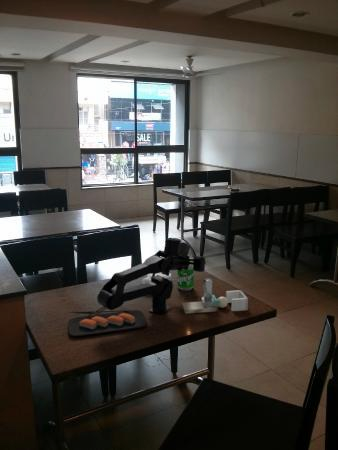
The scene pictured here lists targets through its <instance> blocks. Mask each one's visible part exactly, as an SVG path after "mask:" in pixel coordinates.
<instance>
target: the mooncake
mask: <svg viewBox="0 0 338 450" xmlns="http://www.w3.org/2000/svg"><path fill="white" fill-rule="evenodd" d="M152 275H153V274H148V275H146V277H149V278H151V277H152ZM157 275H159V276H161V277H164V278H166V279H168V280H170V281H172V274H171V272H169V276H167V275H164V274H162V273H157V274H155V276H157Z"/></svg>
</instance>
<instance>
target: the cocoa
mask: <svg viewBox="0 0 338 450" xmlns="http://www.w3.org/2000/svg"><path fill="white" fill-rule="evenodd" d="M152 277H155V274H153V275H152ZM150 281H151V278H149V277H147V276H146V277H144V278H143V279H142V280H141V282H140V285H142V284H146V283H149V282H150Z"/></svg>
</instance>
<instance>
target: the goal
mask: <svg viewBox="0 0 338 450" xmlns="http://www.w3.org/2000/svg"><path fill="white" fill-rule="evenodd" d="M225 298H226V299H227V301H228V303H227V304H230V303H231V308H230V309H231V312H240V311H248V308H249V306H248V305H249V298H248V297H247V296H246V294H245V293H244V292H243V291H242V290H239V289H237V290H227V291H225Z"/></svg>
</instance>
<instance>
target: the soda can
mask: <svg viewBox="0 0 338 450" xmlns="http://www.w3.org/2000/svg"><path fill="white" fill-rule="evenodd" d="M194 275H195V271H194V270H193V265H191V264H189V267H188V270H184V269H182V270H177V288H178V289H179V290H181V291H184V292H185V291H187V292H188V291H191V290H192V289H193V288H194V287H195V286H194V285H195V284H194V283H195V282H194V279H195V278H194V277H195V276H194Z"/></svg>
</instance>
